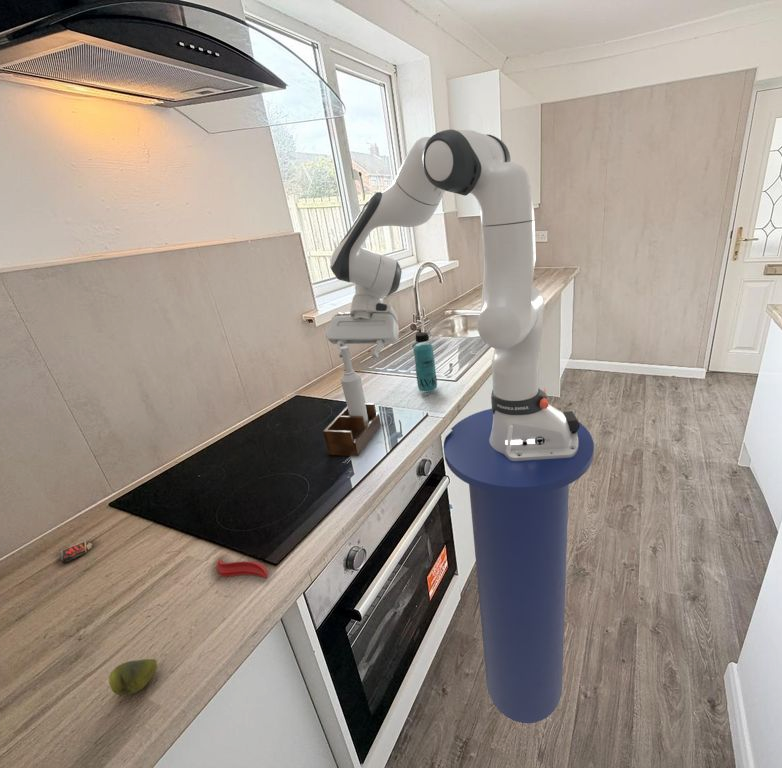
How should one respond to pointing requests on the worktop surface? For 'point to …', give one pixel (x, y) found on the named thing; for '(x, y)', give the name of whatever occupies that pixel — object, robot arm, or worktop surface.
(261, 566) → the cayenne pepper
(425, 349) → the beverage bottle
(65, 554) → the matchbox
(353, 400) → the bottle
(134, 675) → the olive green oval lump
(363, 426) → the box
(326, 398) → the worktop surface
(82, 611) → the worktop surface
